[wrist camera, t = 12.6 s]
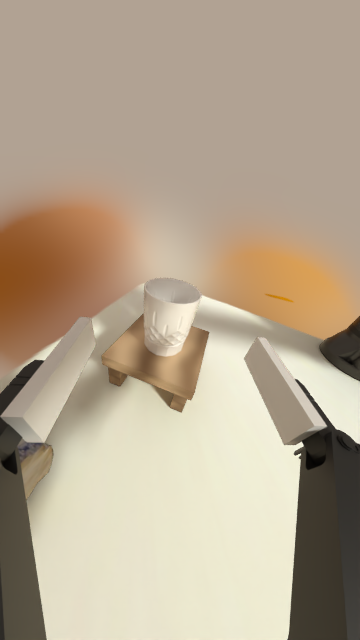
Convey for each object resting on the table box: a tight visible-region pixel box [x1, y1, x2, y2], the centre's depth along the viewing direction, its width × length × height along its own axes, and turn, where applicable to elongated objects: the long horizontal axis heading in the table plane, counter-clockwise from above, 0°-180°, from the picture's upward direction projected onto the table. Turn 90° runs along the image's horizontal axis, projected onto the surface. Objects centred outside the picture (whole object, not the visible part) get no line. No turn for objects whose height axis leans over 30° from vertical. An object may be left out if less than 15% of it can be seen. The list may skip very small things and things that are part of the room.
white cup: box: [144, 278, 202, 357], centre depth 25 cm, size 8×8×10 cm
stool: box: [102, 313, 209, 413], centre depth 30 cm, size 14×14×7 cm
